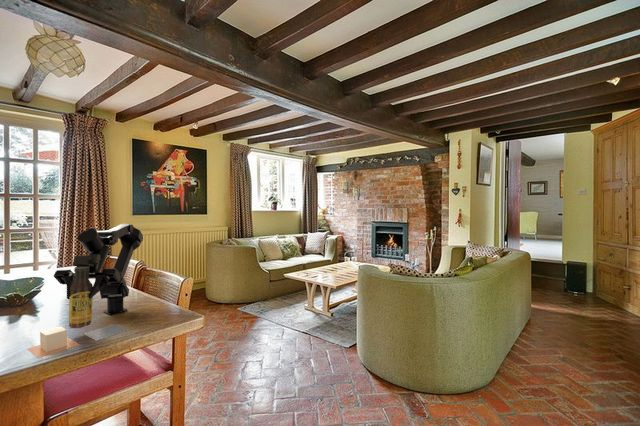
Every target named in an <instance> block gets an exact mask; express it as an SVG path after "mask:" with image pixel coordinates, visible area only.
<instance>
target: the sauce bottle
mask: <svg viewBox="0 0 640 426" xmlns="http://www.w3.org/2000/svg"><path fill="white" fill-rule="evenodd" d="M89 270H90V268H89V266H79V267H76V266H74V270H73V271H74V272H73V273H75V281H74V282H73V284H72V286H71V287H70V297H69V299H68V300H69V301H68V305H69V306H68V326H69V328H70V329H80V328H81V329H82V328H84V327H88V326H90V325H91V324H92V320H93V301H94V300H93V298H94V296H93V297H92V298H89V294H90V292H91V289H92V287H93V283H92V282H91V281H90V279H89Z"/></svg>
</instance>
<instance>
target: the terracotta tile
mask: <svg viewBox="0 0 640 426" xmlns="http://www.w3.org/2000/svg"><path fill="white" fill-rule="evenodd" d="M80 345H81V344H80V343H78V342H76V341H75V340H74V339H72V338H70V337H68V336H67V346H64V347H61V348H58V349H55V350H52V351H48V352H45V351H44V350H43V349H41V348H40V344H38V345H36V346H31V347H29V348H26V350H27V351H29V353H31V354H32V355H34V356H35V357H36V358H37V359H39V358H43V357H46V356H49V355H53V354H56V353H59V352H61V351H64V350H68V349H72V348H75V347H77V346H80Z"/></svg>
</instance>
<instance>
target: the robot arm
mask: <svg viewBox="0 0 640 426" xmlns="http://www.w3.org/2000/svg"><path fill="white" fill-rule="evenodd" d="M77 240H78V241H79V243H80V244H81V246H82V247H83V249H84V250H85V251H86V252H88V253H87V255H74V257H73V260H72V261H73V262H72V266H73V267H79V266H89V268H90V270H89V280H92V279H94V283H93V284H92V289H91V292H90V294H89V298H92V297H93V298H94V297H95V296H96V295H97V294H98V293H99V294H100V298H101V299H102V300H103V299H106V309H105V310H103V313H105V314H108V315H110V316H111V315H115V314H119V313H122V312H126V311H128V308H125V307H124V300H125V299H124V298H126V297H129V296H130V295H129V294H130V288H129V286H128V285H127V282H126V279H125V275H126V272H127V270H128V267H129V264H130V262H131V258H132V257H133V253H134V251H136V249H139V247H140V246H141V244H142V242H143V240H144V235H143V234H142V231H141V230H139V229H138V228H137V227H135V226H134V225H133V224H132V223H120V224H118V225H117V226H115V227H112V228H110V229H108V230H97V228H96V227H88V229H87V230H84V231H82V232H81V233H80V234H78V236H77ZM119 240H120V244H121V249H120V252H119V254H118V255H117V258H116V261H115V264H114V265H113V267H106V264H105V262H106V260H107V257H108V256H111V252H110V248H109V247H108V246H111V247H112V246H115V245H116V244H117V243H118V242H119ZM53 277H54V279H55V280H56V281H57V282H58V283H59V284H60V285H66V299H67V300H69V297H70V287H71V286H72V284H73V282H74V281H75V272H73V271H72V269H68V268H67V269H57V270H56V271H55V272H54V274H53ZM101 299H100V300H101Z"/></svg>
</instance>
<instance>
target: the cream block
mask: <svg viewBox="0 0 640 426" xmlns="http://www.w3.org/2000/svg"><path fill="white" fill-rule="evenodd" d="M39 335H40V336H39V337H40V339H39V341H40V342H39V343H40V344H39V345H40V348H41V349H43V350H44V351H45V352H48V351H52V350H55V349H58V348H61V347H64V346H67V337H68V330H67V329H66V328H64V327H62V326H61V325H60V326H57V327H52V328H50V329H45V330H41V331H39Z"/></svg>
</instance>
